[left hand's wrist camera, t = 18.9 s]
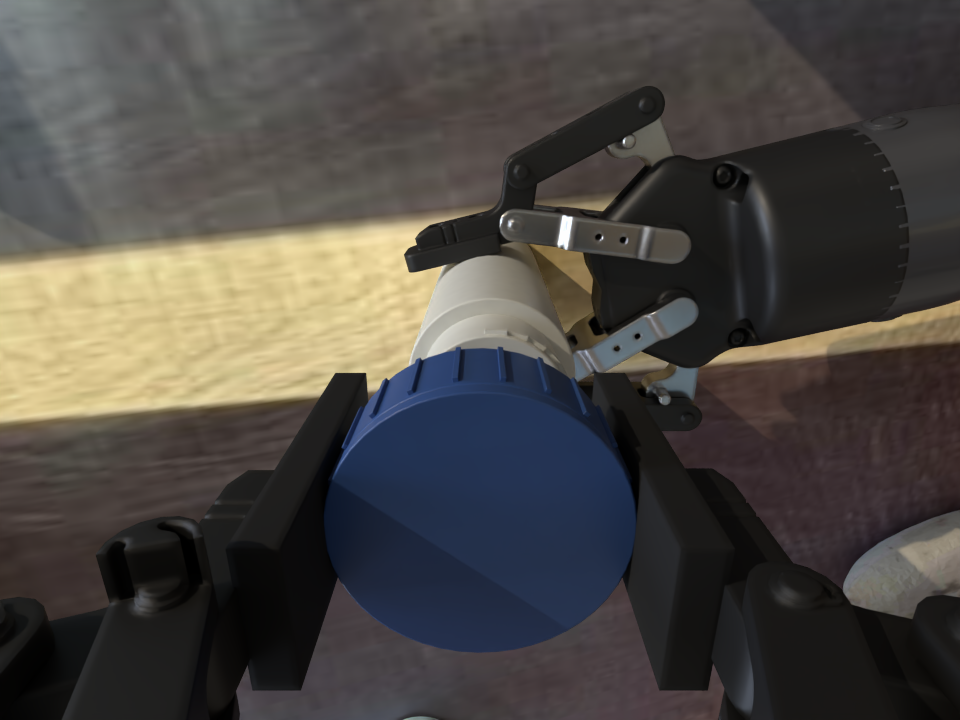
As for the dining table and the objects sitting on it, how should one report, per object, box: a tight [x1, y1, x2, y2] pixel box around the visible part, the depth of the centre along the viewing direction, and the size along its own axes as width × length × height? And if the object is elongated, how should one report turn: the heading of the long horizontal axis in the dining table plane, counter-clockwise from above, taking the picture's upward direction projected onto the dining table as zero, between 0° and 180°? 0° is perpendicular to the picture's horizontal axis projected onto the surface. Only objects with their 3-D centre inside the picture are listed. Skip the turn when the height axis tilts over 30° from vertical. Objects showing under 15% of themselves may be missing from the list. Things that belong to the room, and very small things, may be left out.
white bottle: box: [409, 242, 575, 379], centre depth 22 cm, size 5×5×16 cm
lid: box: [323, 347, 637, 653], centre depth 11 cm, size 6×6×2 cm
